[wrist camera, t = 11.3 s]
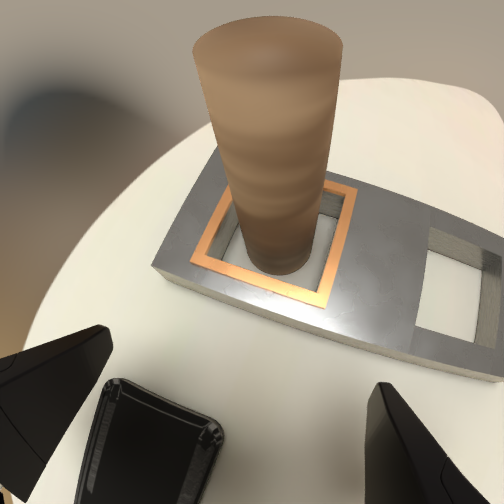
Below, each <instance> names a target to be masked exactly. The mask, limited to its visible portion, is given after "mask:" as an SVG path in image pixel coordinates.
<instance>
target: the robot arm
mask: <svg viewBox="0 0 504 504" xmlns="http://www.w3.org/2000/svg"><path fill="white" fill-rule="evenodd" d="M112 351H113V342H112V338H111V334H110V330H109V328H108V327H106V326H103V325H95V326H92V327H89V328H87V329H84V330H81V331H78V332H76V333H73V334H70V335H67V336H64V337H62V338H59V339H56V340H53V341H50V342H47V343H45V344H42V345H39V346H36V347H33V348H30V349H27V350H25V351H22V352H19V353H18V354H17V353H16V354H13V355H10V356H7V357H4V358H1V359H0V490H1V489H2V487H5V488H6V489H7V490H8V491H10V492H11V493H12V494H13V495H15V496H16V497H17V498H19V499H20V500H21V501H23V502H24V503H26V502H27V500H28V499H29V497H30V495H31V493H32V491H33V489H34V487H35V485H36V483H37V482H38V480H39V478H40V476H41V474H42V472H43V471H44V469H45V467H46V464H47V463H48V461H49V460H50V458H51V456H52V454H53V453H54V451H55V449H56V447H57V446H58V444H59V442H60V441H61V439H62V437H63V436H64V434H65V432H66V431H67V429H68V427H69V426H70V424H71V422H72V421H73V419H74V417H75V416H76V414H77V412H78V411H79V409H80V408H81V406H82V404H83V403H84V401H85V400H86V398H87V397H88V395H89V393H90V392H91V390H92V389H93V387H94V386H95V384H96V382H97V380H98V378H99V376H100V374H101V372H102V370H103V368H104V367H105V365H106V363H107V361H108V359H109V357H110V355H111V353H112ZM0 504H4V498H3V493H1V492H0ZM365 504H490V503H489V502H488V501H487V500H486V499H485V498H484V497H483V496H482V495H481V493H480V492H479V491H478V490H477V489H476V488H475V487H474V486H473V485H472V484H471V483H470V482H469V481H468V480H467V479H466V478H465V476H464V475H463V474H462V473H461V472H460V470H459V469H458V468H457V467H456V466H455V464H454V463H453V462H452V460H451V459H450V458H449V457H447V454H446V453H445V451H444V450H443V449H442V448H441V446H440V445H439V444H438V442H437V441H436V440H435V438H434V437H433V436H432V435H431V433H430V432H429V431H428V430H427V428H426V427H425V426H424V424H423V423H422V422H421V421H420V419H419V418H418V417H417V416H416V414H415V413H414V412H413V411H412V409H411V408H410V407H409V405H408V404H407V403H406V402H405V400H404V399H403V398H402V397H401V395H400V394H399V393H398V392H397V391H396V389H395V388H394V387H393V386H392V384H390V383H387V382H378V383H377V384H376V386H375V388H374V390H373V392H372V394H371V396H370V398H369V400H368V405H367V421H366V434H365Z"/></svg>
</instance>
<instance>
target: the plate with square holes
mask: <svg viewBox="0 0 504 504" xmlns="http://www.w3.org/2000/svg"><path fill="white" fill-rule="evenodd" d="M319 213H322V214H325V215H329V216H332V217H335V218H338V222H337V225H336V229H335V232H334V236H333V239H332V243H331V246H330V249H329V253H328V256H327V259H326V263H325V266H324V269H323V272H322V275H321V279H320V282H319V285H318V288H317V291H316V292H313V291H310V290H307V289H304V288H301V287H298V286H295V285H292V284H289V283H286V282H283V281H280V280H277V279H274V278H271V277H268V276H265V275H262V274H259V273H256V272H253V271H250V270H247V269H244V268H241V267H238V266H235V265H232V264H229V263H226V262H224V261H221V260H222V257H223V255H224V253H225V251H226V249H227V246H228V244H229V242H230V240H231V238H232V235H233V233H234V231H235V229H236V227H237V224H238V222H239V220H238V217H237V213H236V210H235V206H234V202H233V199H232V195H231V192H230V188H229V184H228V181H227V177H226V173H225V170H224V166H223V163H222V159H221V155H220V152H219V148H218V146H217V147H216V149H215V150H214V152H213V154H212V155H211V157H210V159H209V160H208V162H207V164H206V165H205V167H204V169H203V170H202V172H201V174H200V175H199V177H198V179H197V181H196V182H195V184H194V186H193V187H192V189H191V191H190V193H189V194H188V196H187V198H186V200H185V202H184V203H183V205H182V207H181V209H180V211H179V212H178V214H177V216H176V218H175V220H174V222H173V224H172V225H171V227H170V229H169V231H168V233H167V235H166V237H165V239H164V241H163V243H162V245H161V246H160V248H159V250H158V252H157V254H156V256H155V258H154V260H153V262H152V264H151V266H152V267H153V268H154V269H155V270H156V271H158V272H159V273H160V274H161V275H162V276H163V277H164V278H165V279H166V280H169V281H171V282H173V283H176V284H178V285H181V286H183V287H186V288H188V289H191V290H193V291H196V292H198V293H201V294H203V295H206V296H208V297H211V298H214V299H216V300H219V301H221V302H224V303H227V304H229V305H232V306H235V307H237V308H240V309H243V310H246V311H248V312H251V313H254V314H257V315H259V316H262V317H265V318H268V319H271V320H273V321H276V322H279V323H282V324H285V325H288V326H291V327H294V328H297V329H300V330H303V331H306V332H309V333H312V334H315V335H318V336H321V337H324V338H327V339H330V340H333V341H337V342H340V343H343V344H346V345H350V346H353V347H356V348H359V349H363V350H366V351H370V352H373V353H376V354H380V355H383V356H387V357H391V358H394V359H398V360H401V361H405V362H409V363H413V364H416V365H420V366H424V367H428V368H432V369H436V370H440V371H444V372H448V373H452V374H457V375H461V376H465V377H470V378H474V379H479V380H484V381H489V382H493V383H497V382H504V238H502V237H500V236H498V235H496V234H494V233H492V232H490V231H488V230H486V229H484V228H481V227H479V226H477V225H475V224H473V223H470V222H468V221H466V220H464V219H461V218H459V217H457V216H454V215H452V214H449V213H447V212H445V211H442V210H440V209H437V208H435V207H432V206H430V205H427V204H424V203H422V202H419V201H417V200H414V199H411V198H409V197H406V196H403V195H400V194H397V193H395V192H392V191H389V190H386V189H383V188H380V187H377V186H374V185H371V184H368V183H365V182H362V181H359V180H355V179H352V178H349V177H346V176H342V175H339V174H336V173H332V172H329V171H326V175H325V181H324V187H323V192H322V198H321V203H320V209H319ZM427 249H429V250H432V251H434V252H437V253H440V254H442V255H445V256H448V257H450V258H453V259H455V260H458V261H460V262H463V263H465V264H468V265H470V266H473V267H475V268H478V269H480V270H482V285H481V298H480V307H479V316H478V323H477V330H476V337H475V342H474V343H471V342H468V341H464V340H461V339H458V338H454V337H451V336H447V335H444V334H441V333H437V332H434V331H431V330H427V329H424V328H421V327H418V326H415V322H416V318H417V313H418V308H419V303H420V297H421V291H422V285H423V279H424V273H425V265H426V258H427Z"/></svg>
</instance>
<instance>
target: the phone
mask: <svg viewBox="0 0 504 504" xmlns="http://www.w3.org/2000/svg"><path fill="white" fill-rule="evenodd" d="M223 440H224V432H223V429H222V427H221V425H220V424H219V423H218V422H217V421H216V420H214V419H212V418H210V417H208V416H205V415H203V414H200V413H198V412H195V411H193V410H191V409H188V408H186V407H184V406H181V405H179V404H177V403H174V402H172V401H170V400H168V399H166V398H163V397H161V396H159V395H157V394H155V393H153V392H151V391H149V390H147V389H145V388H143V387H141V386H139V385H137V384H135V383H133V382H131V381H129V380H127V379H122V378H113V379H110V380H108V381H107V382H106V383H105V385H104V387H103V389H102V392H101V395H100V399H99V402H98V405H97V409H96V412H95V415H94V419H93V422H92V426H91V430H90V433H89V437H88V441H87V445H86V449H85V453H84V457H83V461H82V466H81V470H80V474H79V479H78V484H77V489H76V494H75V500H74V504H199V502H200V500H201V497H202V495H203V492H204V490H205V487H206V485H207V482H208V480H209V477H210V475H211V472H212V470H213V467H214V465H215V462H216V459H217V457H218V454H219V452H220V449H221V446H222V444H223Z"/></svg>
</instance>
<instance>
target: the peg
mask: <svg viewBox="0 0 504 504" xmlns="http://www.w3.org/2000/svg"><path fill="white" fill-rule="evenodd" d="M342 48H343V44H342V41H341V39H340V37H339V36H338V35H337V34H336V33H335V32H333V31H332V30H330V29H329V28H327V27H325V26H322V25H320V24H318V23H315V22H312V21H308V20H304V19H300V18H294V17H283V16H262V17H253V18H246V19H241V20H237V21H233V22H229V23H227V24H223V25H221V26H219V27H216V28H214V29H212V30H210V31H209V32H207V33H205V34H204V35H203V36H202V37H200V38H199V39H198V40H197V42H196V43H195V45H194V47H193V56H194V60H195V64H196V67H197V71H198V75H199V79H200V82H201V86H202V89H203V93H204V97H205V100H206V104H207V108H208V112H209V115H210V119H211V123H212V126H213V130H214V133H215V137H216V141H217V144H218V148H219V152H220V155H221V159H222V163H223V166H224V170H225V173H226V177H227V181H228V184H229V188H230V192H231V195H232V199H233V202H234V206H235V210H236V213H237V217H238V220H239V224H240V228H241V231H242V235H243V238H244V242H245V245H246V249H247V253H248V256H249V258H250V260H251V261H252V263H253V264H254V265H255V266H256V267H257V268H258V269H260V270H261V271H263V272H265V273H268V274H272V275H286V274H290V273H292V272H295V271H296V270H298V269H300V268H301V267H302V266H303V265H304V264H305V263H306V261H307V260H308V258H309V256H310V253H311V249H312V244H313V239H314V234H315V229H316V224H317V219H318V214H319V209H320V203H321V198H322V192H323V187H324V181H325V175H326V169H327V163H328V157H329V151H330V144H331V138H332V131H333V124H334V117H335V109H336V102H337V94H338V86H339V77H340V68H341V59H342Z"/></svg>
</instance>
